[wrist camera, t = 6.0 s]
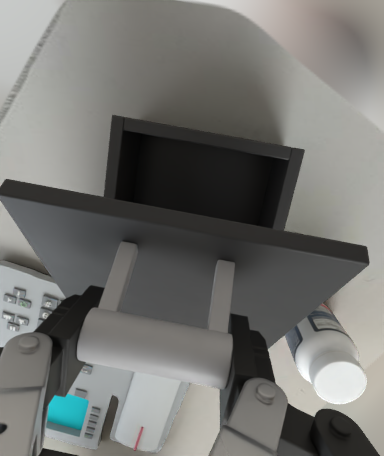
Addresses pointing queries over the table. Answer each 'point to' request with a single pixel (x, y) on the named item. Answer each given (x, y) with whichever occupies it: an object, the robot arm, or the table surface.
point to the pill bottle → (327, 357)
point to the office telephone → (89, 376)
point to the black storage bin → (201, 172)
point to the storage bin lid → (175, 278)
